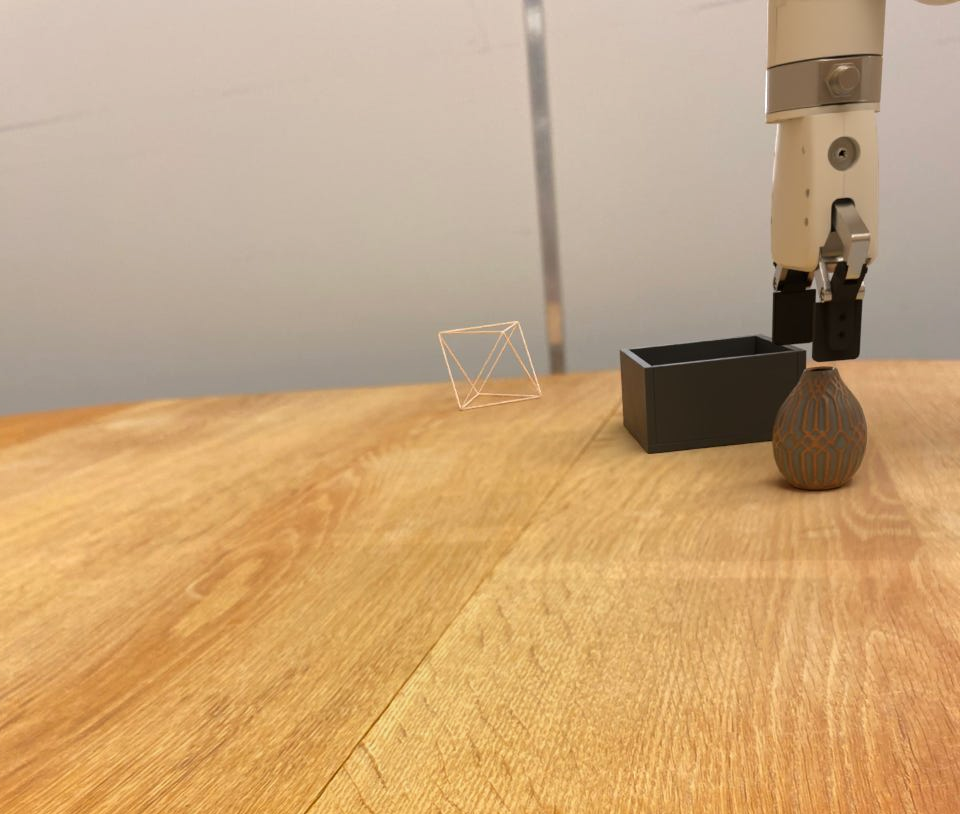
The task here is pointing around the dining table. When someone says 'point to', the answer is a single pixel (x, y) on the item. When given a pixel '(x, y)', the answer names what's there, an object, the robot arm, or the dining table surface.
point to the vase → (819, 432)
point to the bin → (707, 391)
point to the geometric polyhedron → (492, 366)
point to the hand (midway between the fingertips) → (812, 351)
